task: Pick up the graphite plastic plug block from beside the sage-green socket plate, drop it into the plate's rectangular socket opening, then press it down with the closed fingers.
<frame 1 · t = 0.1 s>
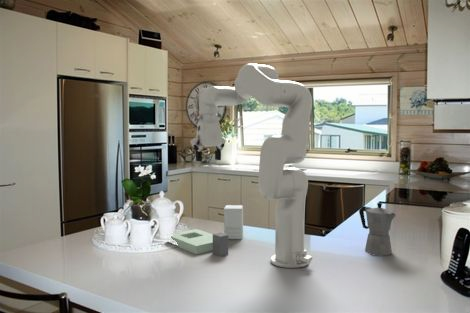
hand: (208, 160, 170), 31 cm above the table, fingers open, 9 cm apart
supplement box: (233, 237, 169), on the table
plug: (220, 253, 147), on the table
coffeepot: (375, 251, 150), on the table
socket plate: (196, 244, 158), on the table
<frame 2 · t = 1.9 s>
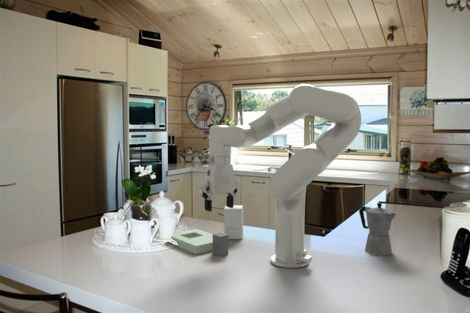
hand: (219, 209, 146), 16 cm above the table, fingers open, 9 cm apart
nothing on the table moved.
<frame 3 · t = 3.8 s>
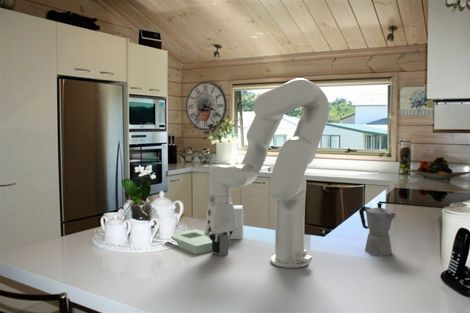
hand: (220, 250, 147), 1 cm above the table, fingers closed on plug, 3 cm apart
plug: (220, 253, 147), on the table, touching gripper
everything else where it was.
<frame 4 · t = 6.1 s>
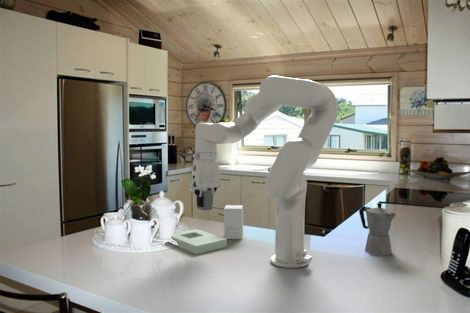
hand: (204, 205, 152), 16 cm above the table, fingers closed on plug, 3 cm apart
plug: (204, 208, 153), point 15 cm above the table, touching gripper
everything else where it was.
when the fingers open (3 cm above the table, at t = 8.6 s): plug drops 2 cm, resting in socket plate.
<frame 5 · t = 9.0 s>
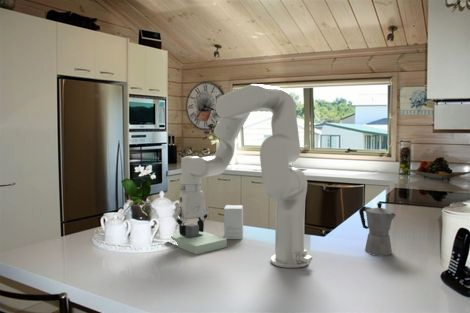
hand: (191, 232, 160), 4 cm above the table, fingers open, 7 cm apart
plug: (191, 242, 161), resting in socket plate
everything else where it was.
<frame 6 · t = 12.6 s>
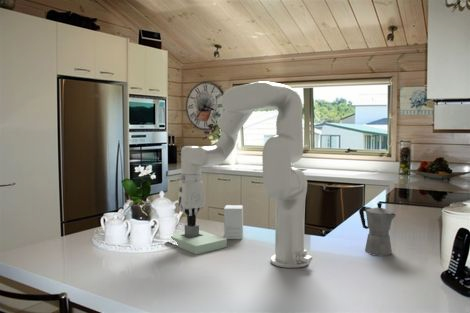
hand: (191, 225, 160), 7 cm above the table, fingers closed
plug: (191, 242, 161), resting in socket plate, touching gripper
everything else where it was.
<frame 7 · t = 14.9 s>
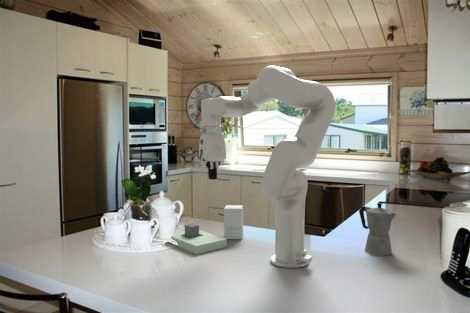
hand: (212, 179, 158), 25 cm above the table, fingers closed
plug: (191, 242, 161), resting in socket plate
everything else where it was.
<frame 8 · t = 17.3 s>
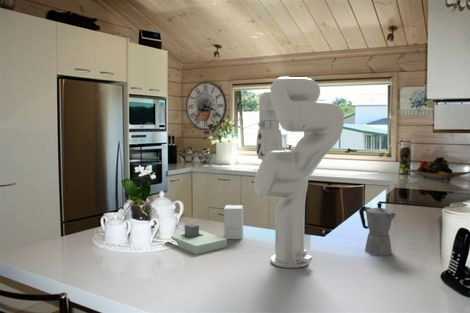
hand: (268, 173, 158), 27 cm above the table, fingers closed
nothing on the table moved.
at the end: plug 0.0 cm from the target spot on the socket plate, point 0.0 cm above the socket plate's base; plug tilted 0°; the gripper is holding nothing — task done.
